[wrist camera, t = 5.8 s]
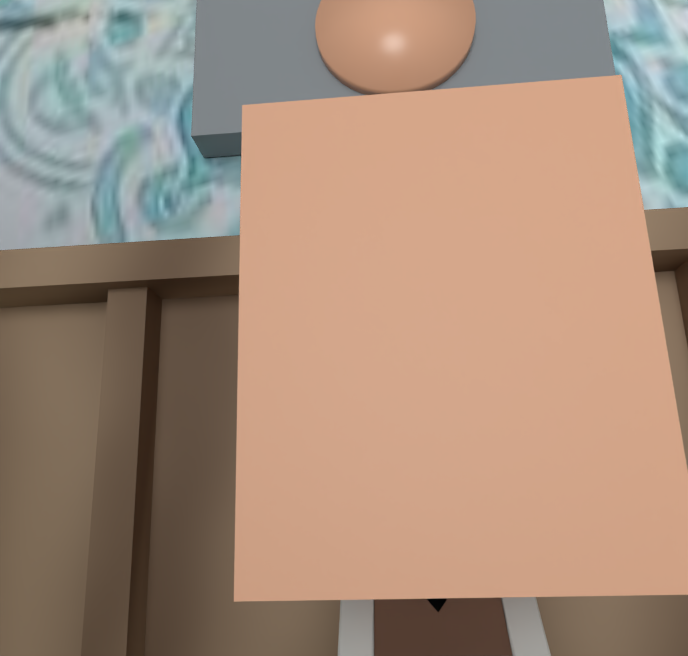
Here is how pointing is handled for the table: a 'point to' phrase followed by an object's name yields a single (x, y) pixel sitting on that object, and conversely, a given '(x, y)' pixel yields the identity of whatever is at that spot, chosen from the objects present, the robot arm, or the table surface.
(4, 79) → the table surface
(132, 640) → the key base
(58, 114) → the table surface
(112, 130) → the table surface
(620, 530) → the orange rectangular block
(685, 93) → the table surface
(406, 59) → the orange button
